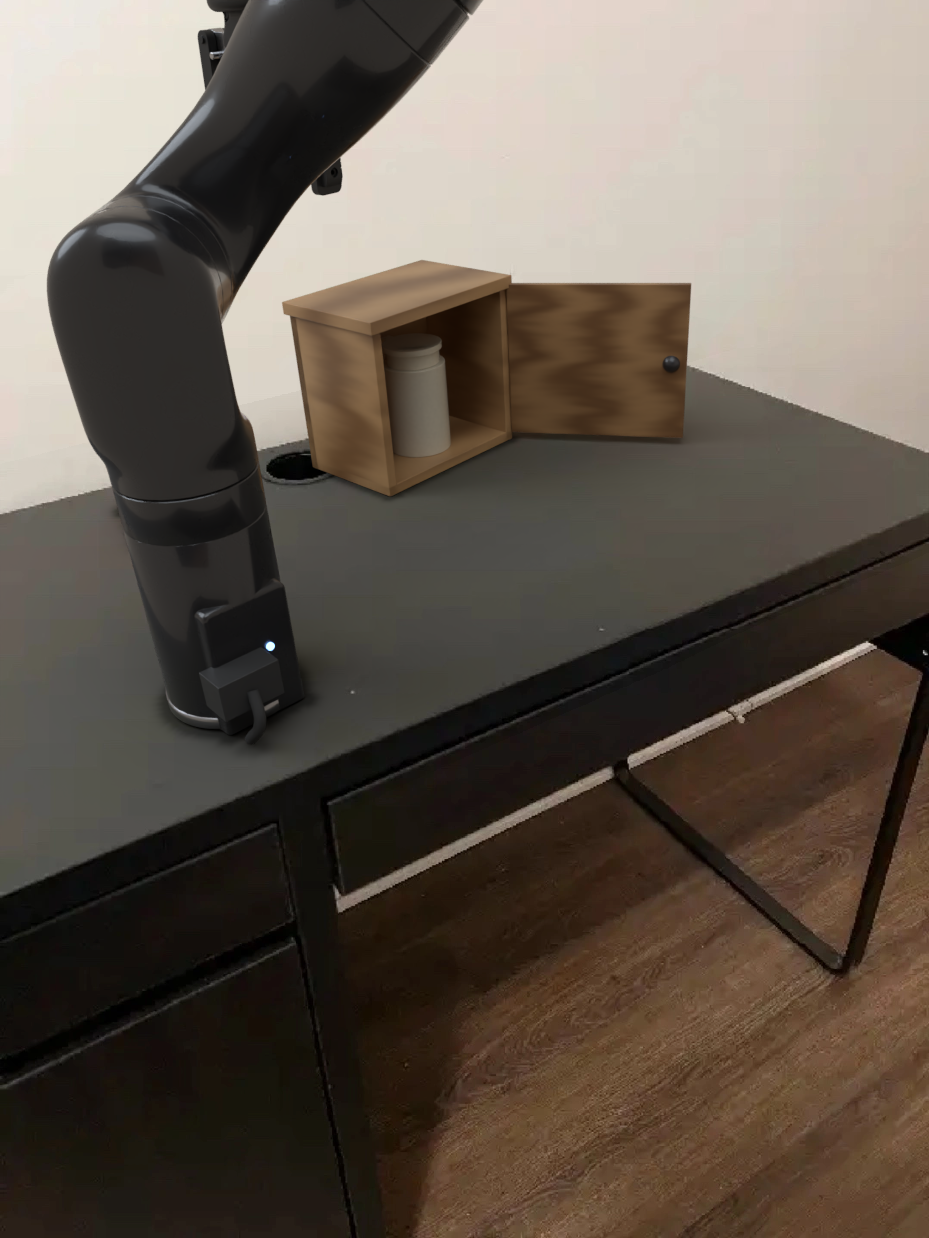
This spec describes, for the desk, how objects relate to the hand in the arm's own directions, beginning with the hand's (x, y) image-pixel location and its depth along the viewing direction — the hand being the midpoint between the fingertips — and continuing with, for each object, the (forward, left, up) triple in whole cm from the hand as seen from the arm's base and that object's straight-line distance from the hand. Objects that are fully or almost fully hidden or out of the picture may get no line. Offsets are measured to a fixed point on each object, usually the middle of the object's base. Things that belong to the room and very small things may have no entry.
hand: (290, 189), depth 76 cm
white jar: (+11, -18, -29) cm, 36 cm away
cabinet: (+5, -23, -30) cm, 38 cm away
